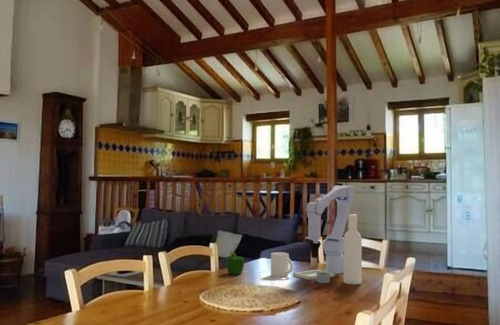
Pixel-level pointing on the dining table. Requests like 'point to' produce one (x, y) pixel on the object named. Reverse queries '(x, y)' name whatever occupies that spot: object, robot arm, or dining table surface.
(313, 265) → the dowel
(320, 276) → the cup
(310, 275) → the tray
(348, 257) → the bottle
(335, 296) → the dining table surface
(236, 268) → the bell pepper
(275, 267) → the mug
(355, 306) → the dining table surface
